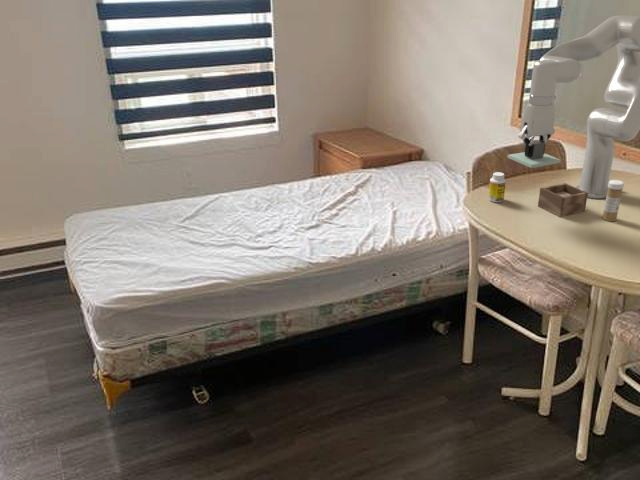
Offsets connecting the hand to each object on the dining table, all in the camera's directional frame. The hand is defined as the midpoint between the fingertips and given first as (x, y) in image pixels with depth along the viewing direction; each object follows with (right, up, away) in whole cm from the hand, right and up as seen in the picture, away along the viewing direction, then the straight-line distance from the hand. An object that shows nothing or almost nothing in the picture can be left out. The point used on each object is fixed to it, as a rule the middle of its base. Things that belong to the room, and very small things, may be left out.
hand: (534, 154), depth 197 cm
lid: (0, -3, +1) cm, 3 cm away
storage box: (+14, -18, +12) cm, 25 cm away
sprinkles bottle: (+26, -22, +3) cm, 34 cm away
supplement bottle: (-6, -14, +22) cm, 26 cm away
